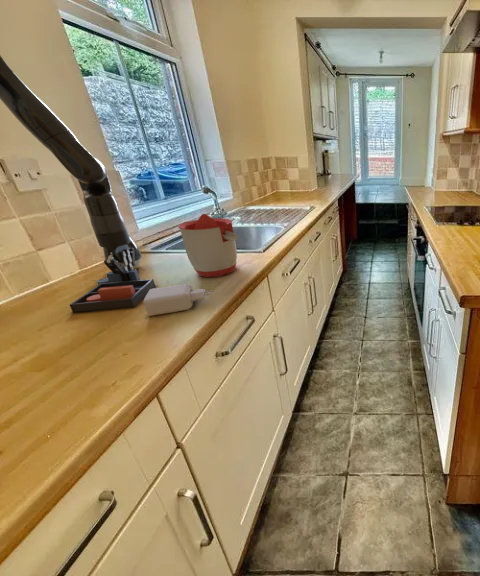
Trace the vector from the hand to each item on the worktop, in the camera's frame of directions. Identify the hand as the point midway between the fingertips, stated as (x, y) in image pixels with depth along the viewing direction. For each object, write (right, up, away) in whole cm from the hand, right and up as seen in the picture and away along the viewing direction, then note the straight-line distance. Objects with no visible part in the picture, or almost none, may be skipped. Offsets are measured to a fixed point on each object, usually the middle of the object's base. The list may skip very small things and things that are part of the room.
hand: (129, 282), depth 101 cm
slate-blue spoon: (-3, 0, -1) cm, 3 cm away
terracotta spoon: (+6, -5, -13) cm, 16 cm away
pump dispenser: (-10, +5, +12) cm, 17 cm away
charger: (+26, -7, -14) cm, 30 cm away
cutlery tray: (+5, -5, -10) cm, 12 cm away
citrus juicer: (+24, +4, +9) cm, 26 cm away
